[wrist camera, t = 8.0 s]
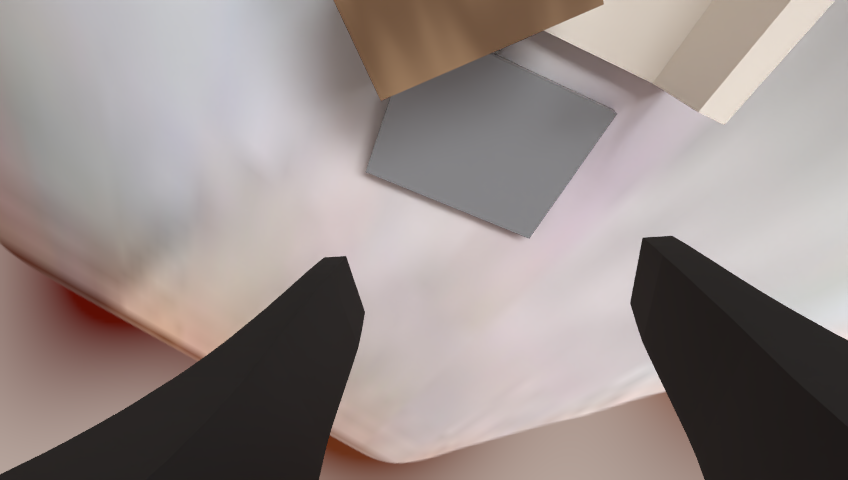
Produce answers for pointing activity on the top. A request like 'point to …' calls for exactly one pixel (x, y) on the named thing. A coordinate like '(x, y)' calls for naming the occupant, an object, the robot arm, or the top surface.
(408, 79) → the walnut block
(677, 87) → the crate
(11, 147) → the top surface
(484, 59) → the mat
